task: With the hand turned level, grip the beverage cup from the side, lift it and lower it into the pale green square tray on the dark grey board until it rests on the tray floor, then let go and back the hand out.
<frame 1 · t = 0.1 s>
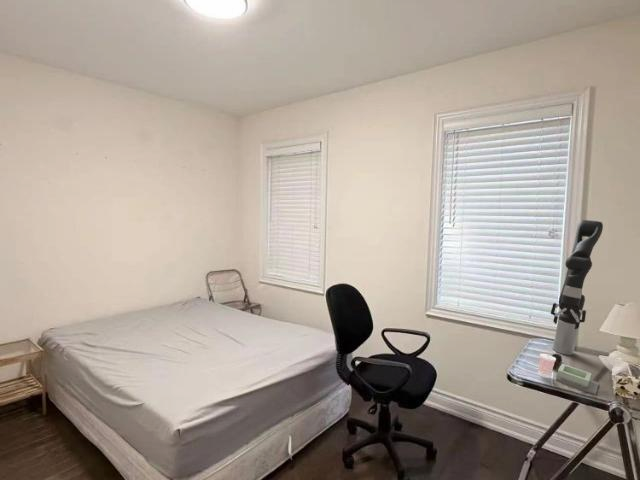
hand: (565, 326, 175), 17 cm above the table, tool pointing down, fingers open, 8 cm apart
pale green square tray: (572, 380, 152), on the table
bolt: (554, 364, 169), on the table
beverage cup: (544, 375, 155), on the table
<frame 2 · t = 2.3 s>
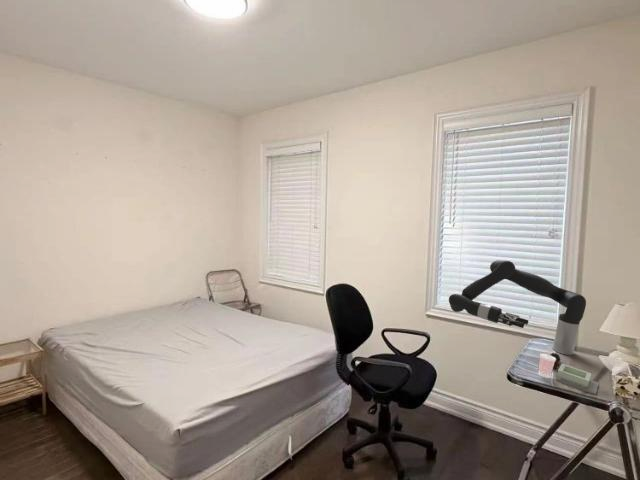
hand: (525, 324, 159), 21 cm above the table, tool horizontal, fingers open, 8 cm apart
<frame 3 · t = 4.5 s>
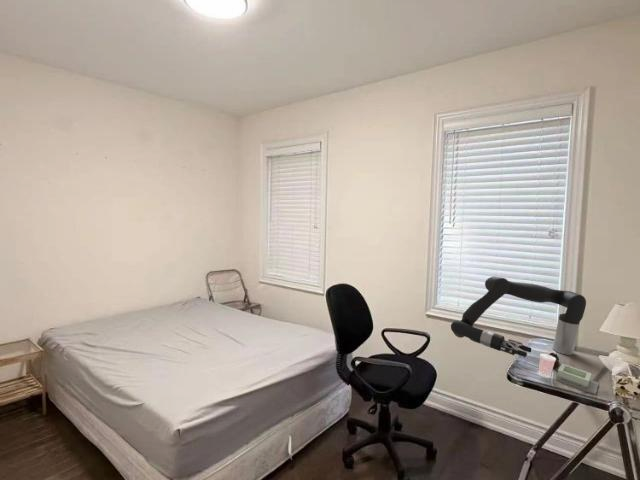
hand: (529, 352, 159), 8 cm above the table, tool horizontal, fingers open, 8 cm apart
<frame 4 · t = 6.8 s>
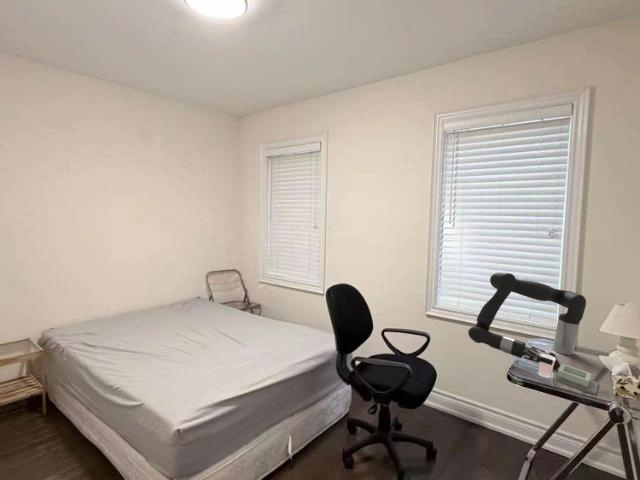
hand: (553, 360, 152), 8 cm above the table, tool horizontal, fingers closed on beverage cup, 6 cm apart
beverage cup: (544, 375, 155), on the table, touching gripper
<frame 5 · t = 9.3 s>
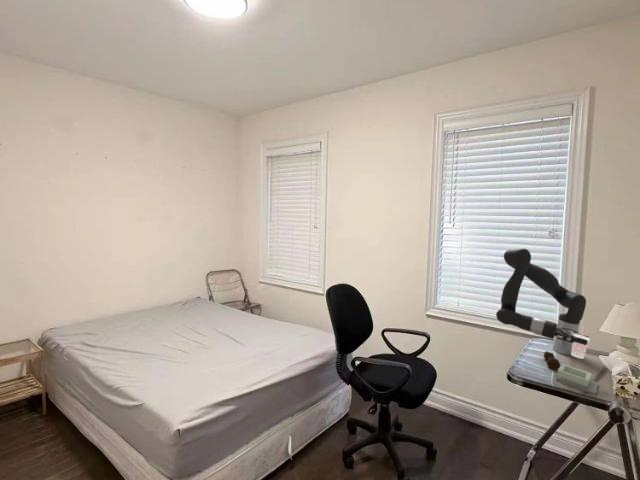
hand: (587, 341, 148), 20 cm above the table, tool horizontal, fingers closed on beverage cup, 6 cm apart
beverage cup: (577, 356, 151), point 11 cm above the table, touching gripper
when the fingers open (11 cm above the table, at t = 12.0 s): beverage cup drops 1 cm, resting on pale green square tray.
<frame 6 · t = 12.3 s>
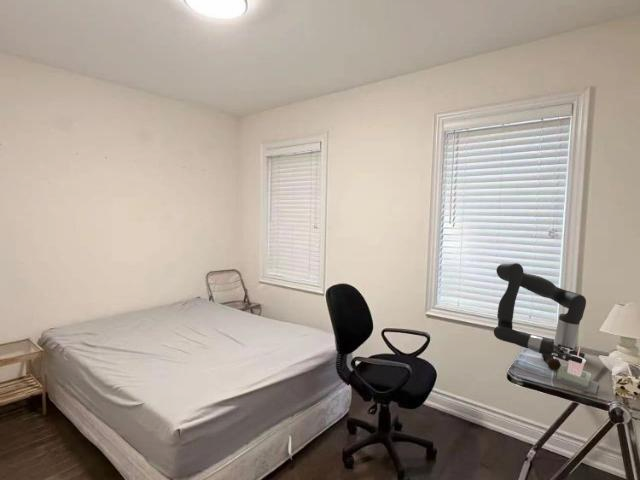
hand: (583, 358, 150), 11 cm above the table, tool horizontal, fingers open, 8 cm apart
beverage cup: (573, 377, 152), point 2 cm above the table, touching pale green square tray
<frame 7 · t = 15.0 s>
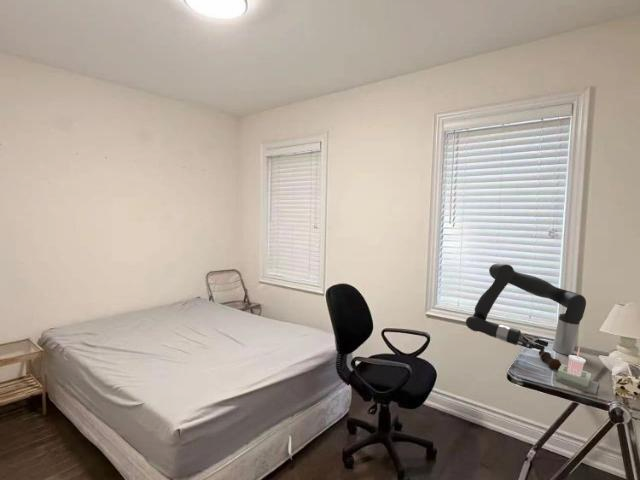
hand: (546, 346, 159), 11 cm above the table, tool horizontal, fingers open, 8 cm apart
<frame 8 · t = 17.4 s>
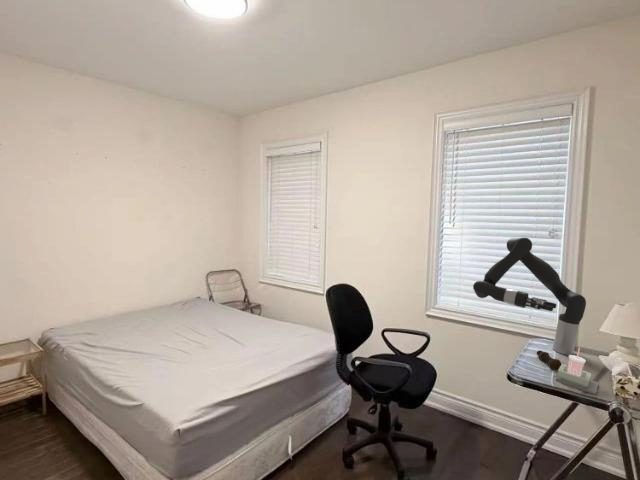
hand: (554, 307, 158), 30 cm above the table, tool horizontal, fingers open, 8 cm apart
at the end: beverage cup 0.2 cm off-centre on the pale green square tray, point 1.6 cm above the pale green square tray's base; beverage cup tilted 0°; the gripper is holding nothing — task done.
